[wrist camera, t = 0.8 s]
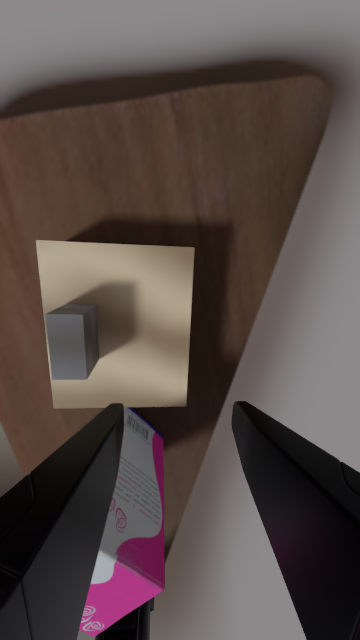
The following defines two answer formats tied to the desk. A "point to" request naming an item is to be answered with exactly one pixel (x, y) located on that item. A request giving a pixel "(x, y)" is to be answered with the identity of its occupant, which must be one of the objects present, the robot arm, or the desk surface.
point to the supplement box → (130, 531)
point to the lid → (116, 322)
